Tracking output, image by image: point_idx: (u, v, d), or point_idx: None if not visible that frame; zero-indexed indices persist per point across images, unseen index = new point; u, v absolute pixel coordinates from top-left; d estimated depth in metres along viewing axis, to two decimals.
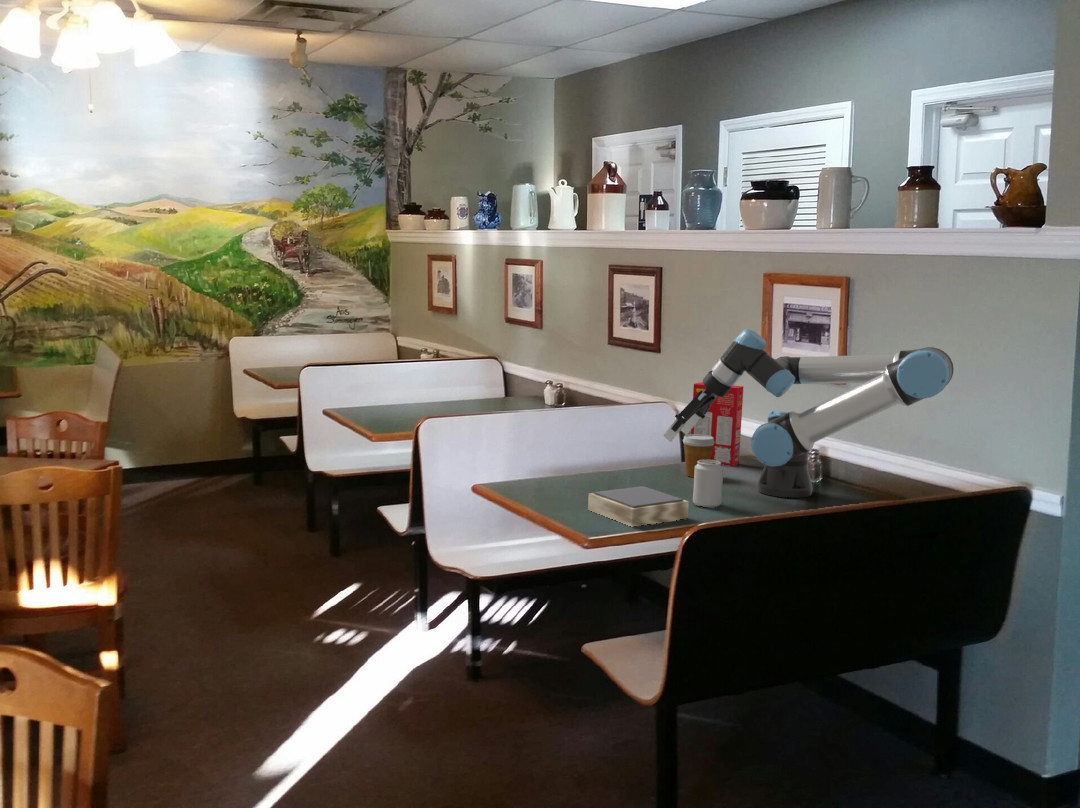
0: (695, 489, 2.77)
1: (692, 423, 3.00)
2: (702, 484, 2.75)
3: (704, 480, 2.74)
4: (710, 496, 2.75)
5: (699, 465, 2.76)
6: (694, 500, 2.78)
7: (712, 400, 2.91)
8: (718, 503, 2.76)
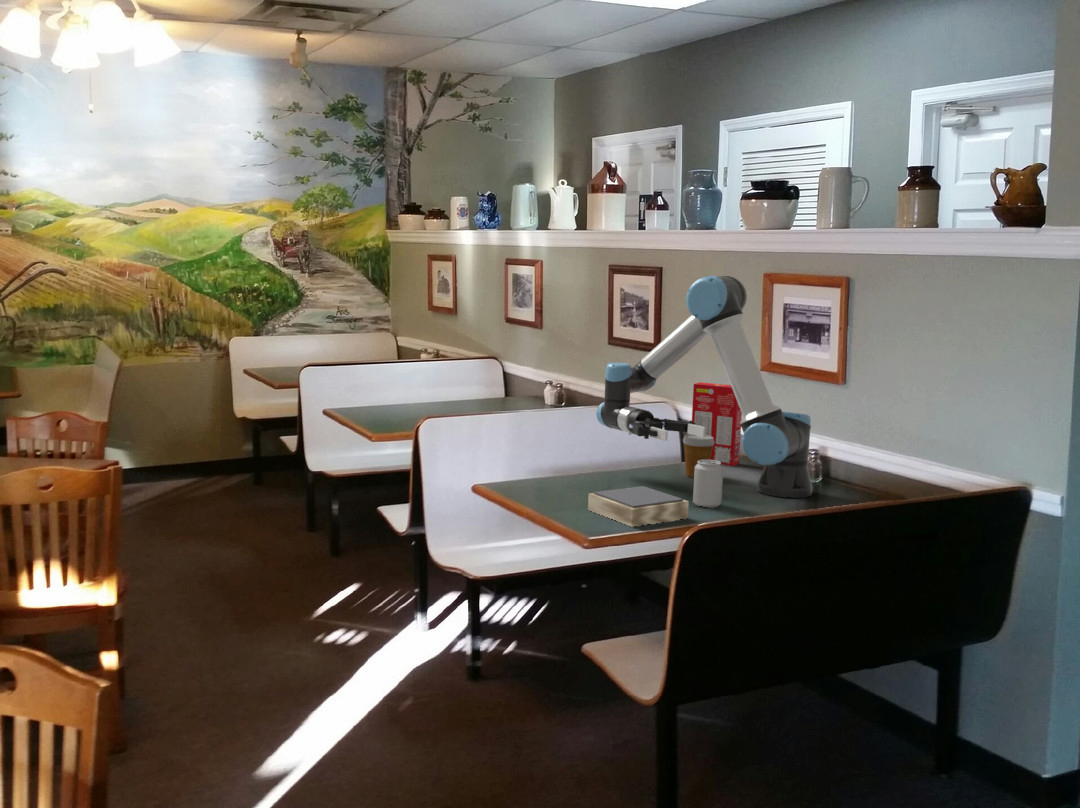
0: (695, 489, 2.77)
1: (694, 427, 2.91)
2: (702, 484, 2.75)
3: (704, 480, 2.74)
4: (710, 496, 2.75)
5: (699, 465, 2.76)
6: (694, 500, 2.78)
7: (653, 418, 2.96)
8: (718, 503, 2.76)
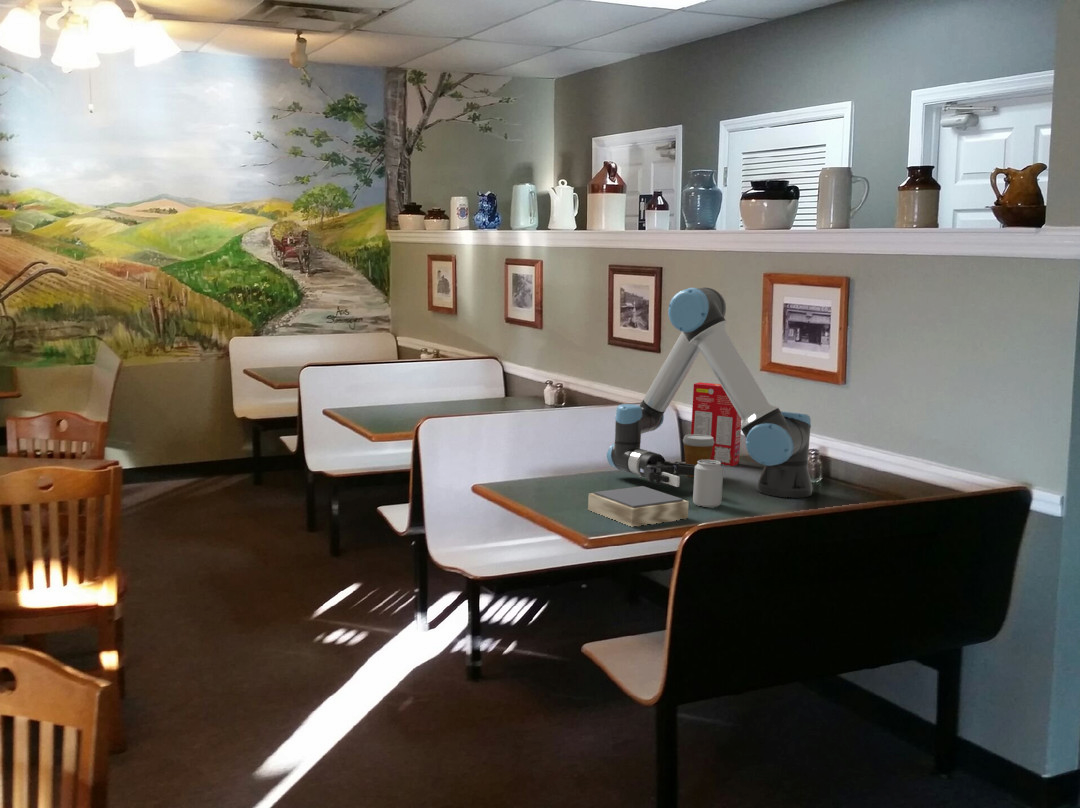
0: (695, 489, 2.77)
1: None
2: (702, 484, 2.75)
3: (704, 480, 2.74)
4: (710, 496, 2.75)
5: (699, 465, 2.76)
6: (694, 500, 2.78)
7: (665, 462, 2.93)
8: (718, 503, 2.76)
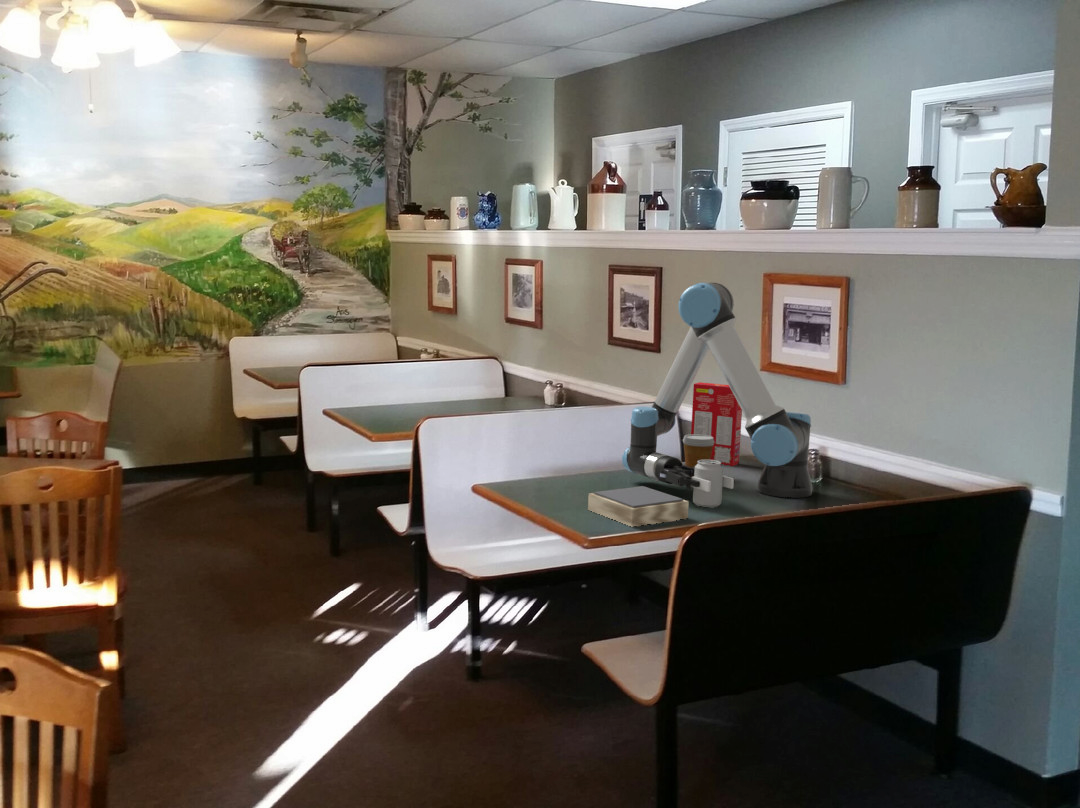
0: (695, 489, 2.77)
1: None
2: None
3: None
4: (710, 496, 2.75)
5: (699, 465, 2.76)
6: (694, 500, 2.78)
7: (681, 466, 2.88)
8: (718, 503, 2.76)
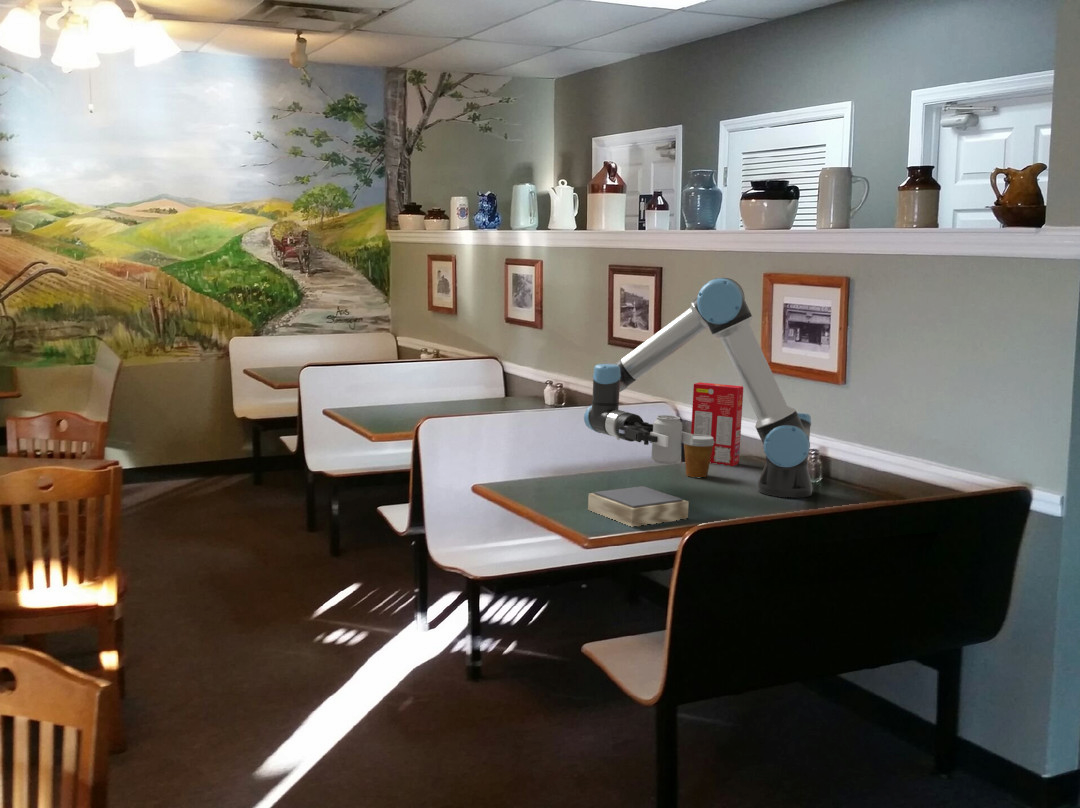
0: (653, 445, 2.71)
1: None
2: None
3: None
4: (668, 452, 2.68)
5: (657, 420, 2.70)
6: (652, 456, 2.71)
7: (642, 422, 2.81)
8: (677, 459, 2.70)
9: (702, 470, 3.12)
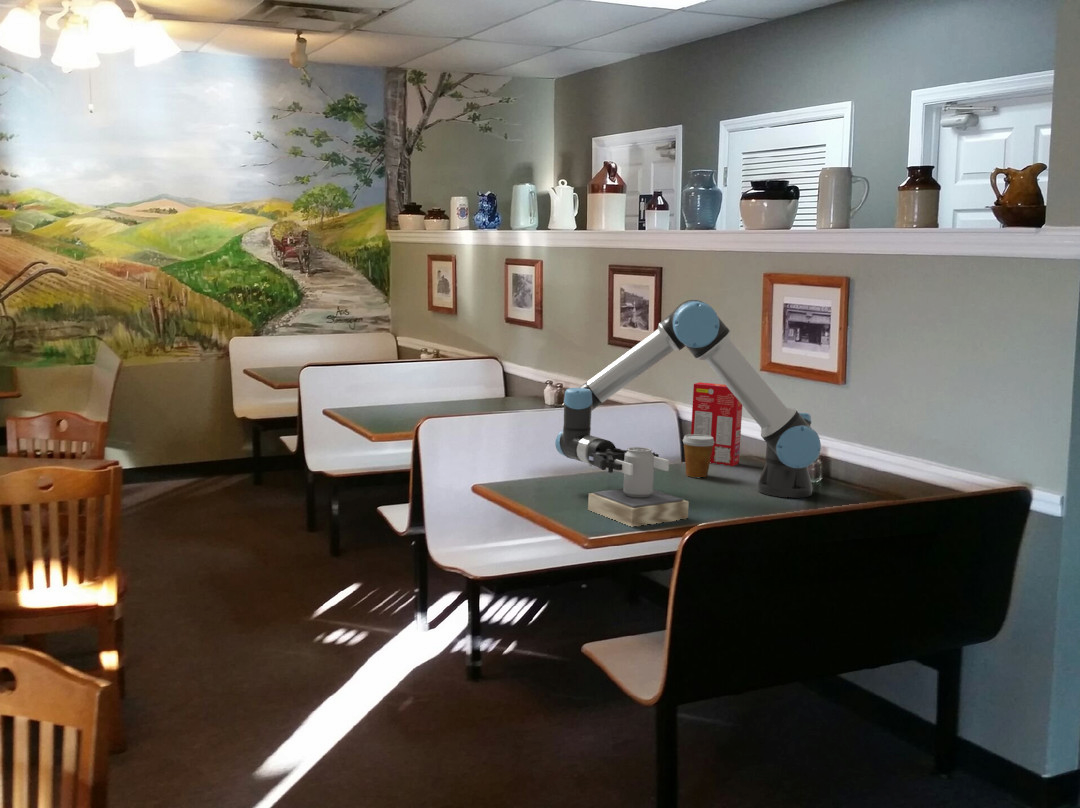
0: (625, 478, 2.64)
1: (656, 460, 2.67)
2: None
3: (633, 468, 2.62)
4: (640, 485, 2.62)
5: (628, 452, 2.63)
6: (624, 489, 2.65)
7: (614, 449, 2.74)
8: (649, 492, 2.63)
9: (702, 470, 3.12)
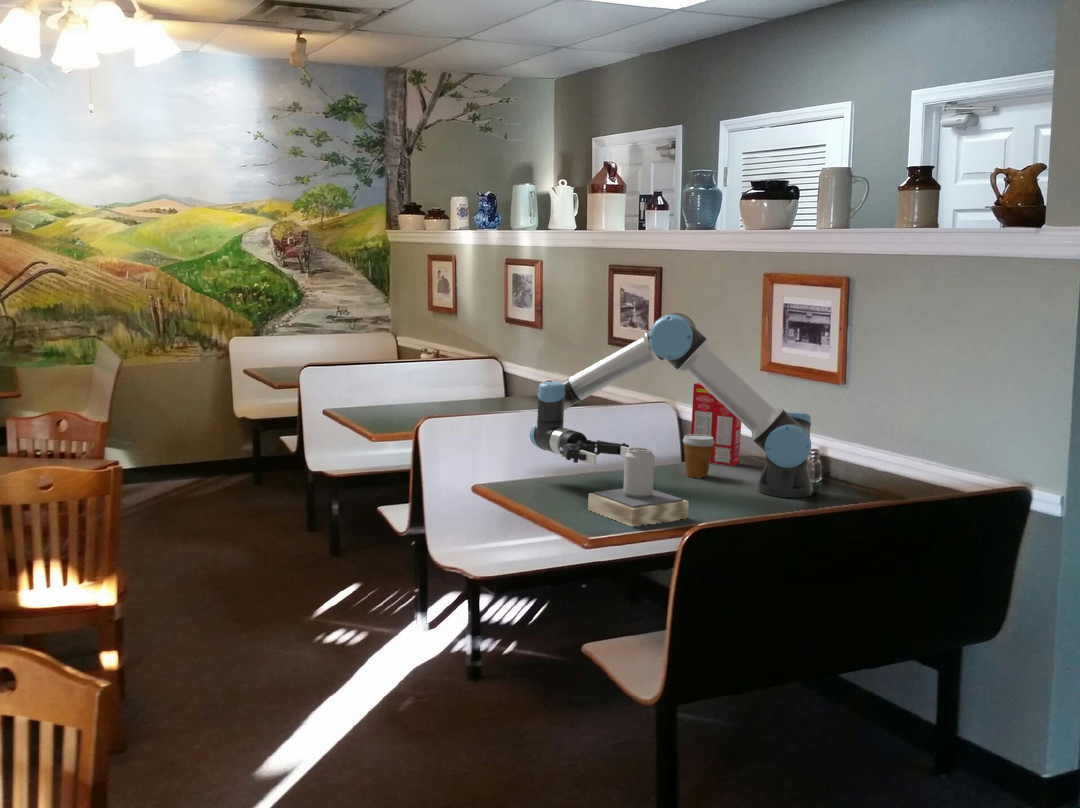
0: (625, 478, 2.64)
1: (626, 450, 2.79)
2: (632, 473, 2.62)
3: (634, 469, 2.61)
4: (640, 486, 2.62)
5: (629, 453, 2.63)
6: (624, 490, 2.65)
7: (585, 440, 2.85)
8: (649, 493, 2.63)
9: (702, 470, 3.12)
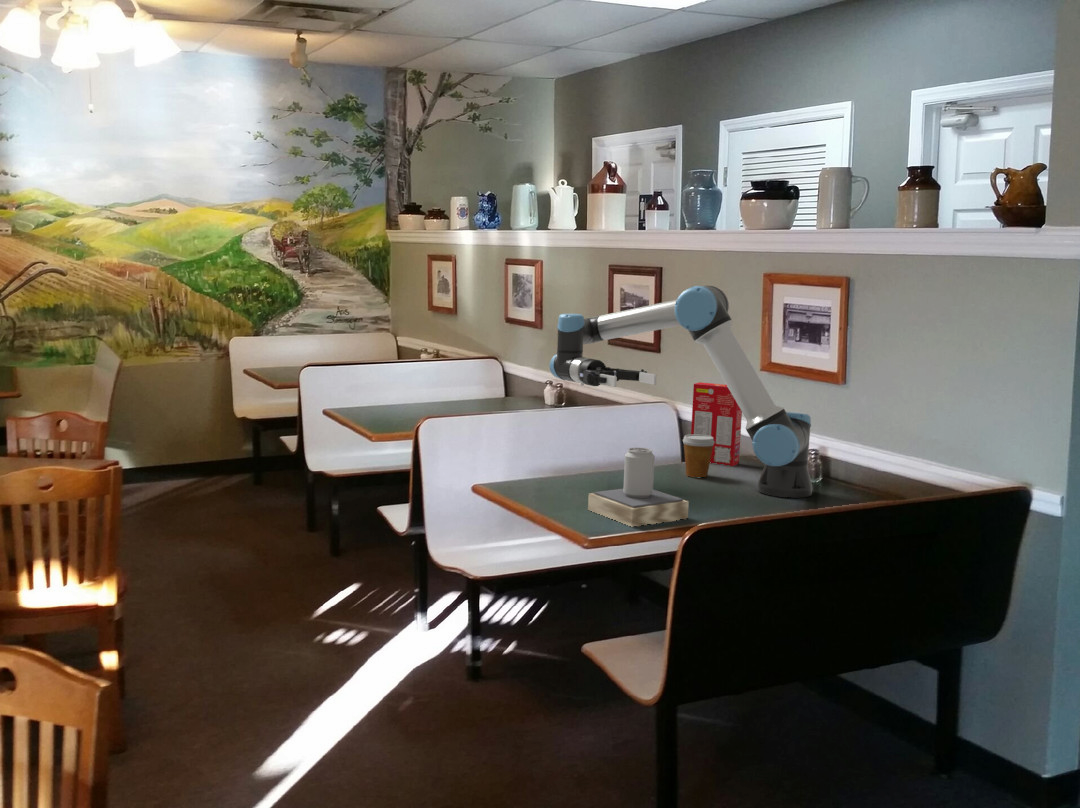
0: (625, 478, 2.64)
1: (645, 375, 2.87)
2: (632, 473, 2.62)
3: (634, 469, 2.61)
4: (640, 486, 2.62)
5: (629, 453, 2.63)
6: (624, 490, 2.65)
7: (605, 367, 2.92)
8: (649, 493, 2.63)
9: (702, 470, 3.12)
